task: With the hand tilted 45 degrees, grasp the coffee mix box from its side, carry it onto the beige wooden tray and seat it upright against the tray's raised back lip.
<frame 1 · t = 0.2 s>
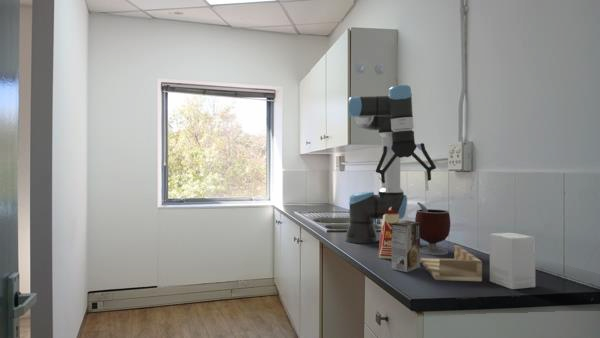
hand: (406, 191, 134), 27 cm above the worktop, tool pointing down, fingers open, 13 cm apart
supplement box: (512, 284, 116), on the worktop
mate gourd: (431, 251, 161), on the worktop
milk carton: (390, 256, 152), on the worktop
coffee box: (405, 268, 134), on the worktop
beige wooden tray: (448, 270, 131), on the worktop
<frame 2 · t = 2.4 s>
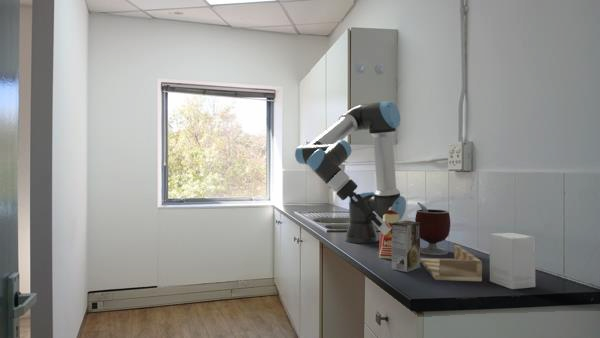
hand: (385, 229, 134), 14 cm above the worktop, tool tilted 45°, fingers open, 13 cm apart
nothing on the worktop moved.
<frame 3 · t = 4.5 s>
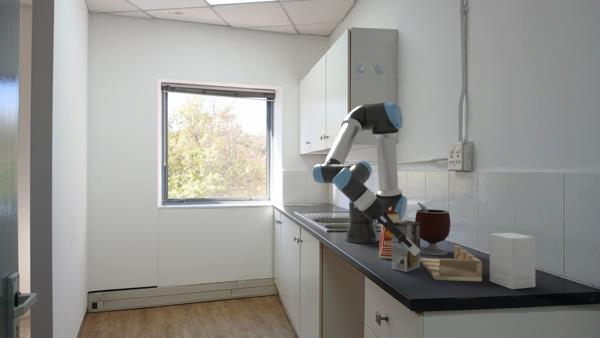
hand: (414, 249, 134), 7 cm above the worktop, tool tilted 45°, fingers closed on coffee box, 10 cm apart
coffee box: (405, 268, 134), on the worktop, touching gripper
everything else where it was.
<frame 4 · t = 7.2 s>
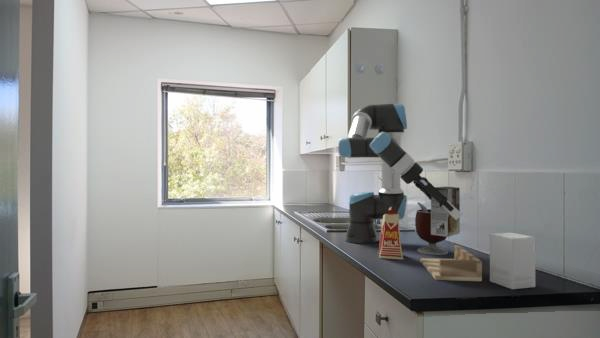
hand: (454, 214, 131), 19 cm above the worktop, tool tilted 45°, fingers closed on coffee box, 10 cm apart
coffee box: (445, 234, 131), point 12 cm above the worktop, touching gripper
everything else where it was.
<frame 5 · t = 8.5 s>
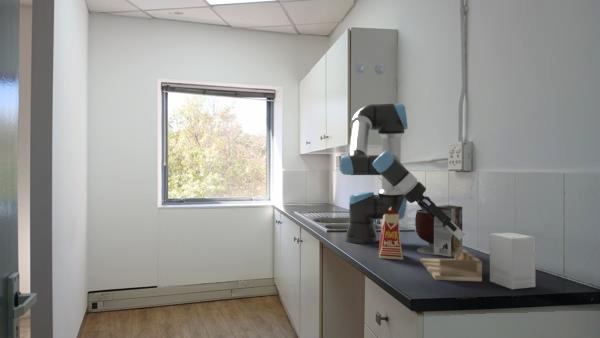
hand: (457, 234, 131), 12 cm above the worktop, tool tilted 45°, fingers closed on coffee box, 10 cm apart
coffee box: (448, 254, 131), point 6 cm above the worktop, touching gripper
everything else where it was.
when the fingers open (9 cm above the worktop, at t = 9.7 s): coffee box drops 1 cm, resting on beige wooden tray.
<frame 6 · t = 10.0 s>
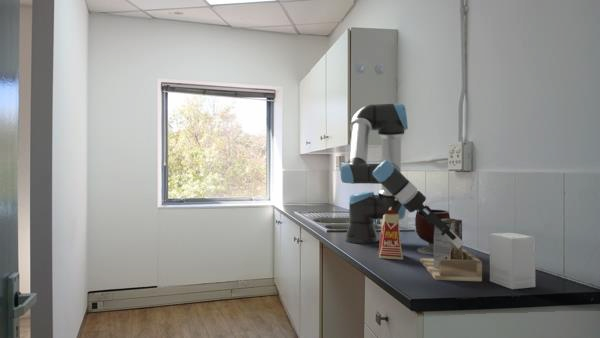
hand: (455, 241, 131), 10 cm above the worktop, tool tilted 45°, fingers open, 13 cm apart
coffee box: (447, 267, 131), point 1 cm above the worktop, touching beige wooden tray
everything else where it was.
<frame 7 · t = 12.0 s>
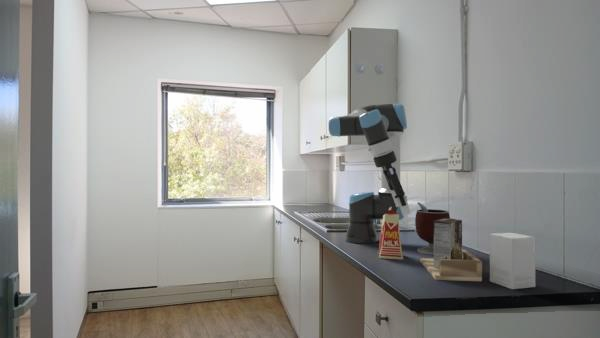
hand: (403, 210, 135), 20 cm above the worktop, tool tilted 20°, fingers open, 13 cm apart
nothing on the worktop moved.
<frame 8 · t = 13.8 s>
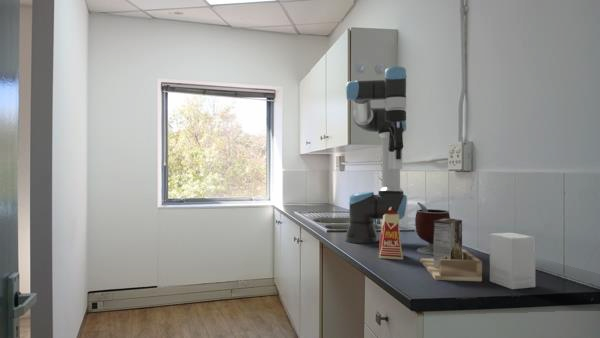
hand: (395, 169, 139), 35 cm above the worktop, tool pointing down, fingers open, 13 cm apart
nothing on the worktop moved.
at the end: coffee box inside the target area on the beige wooden tray (0.4 cm from its centre), point 1.0 cm above the beige wooden tray's base; coffee box tilted 0°; the gripper is holding nothing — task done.
